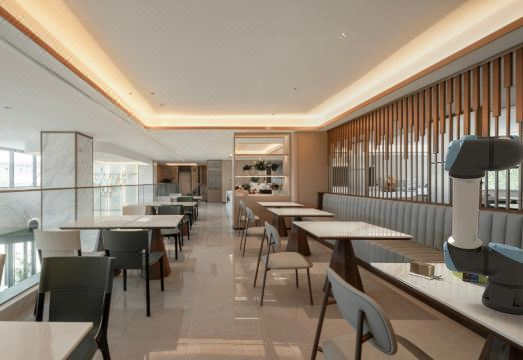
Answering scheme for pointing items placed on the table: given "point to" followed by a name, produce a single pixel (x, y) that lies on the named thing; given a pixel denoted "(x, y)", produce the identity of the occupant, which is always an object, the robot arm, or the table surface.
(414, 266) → the bronze block
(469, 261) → the robot arm
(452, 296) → the table surface
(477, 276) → the protein box
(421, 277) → the grey mat
